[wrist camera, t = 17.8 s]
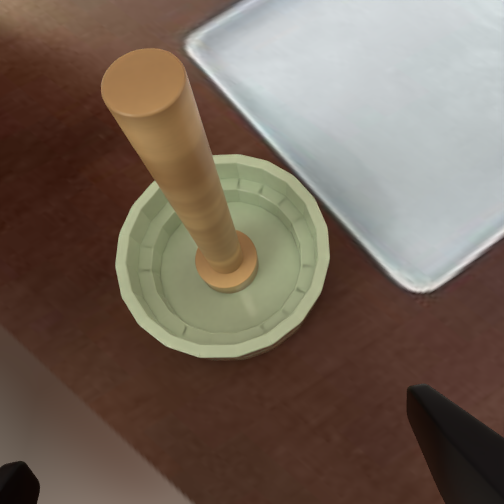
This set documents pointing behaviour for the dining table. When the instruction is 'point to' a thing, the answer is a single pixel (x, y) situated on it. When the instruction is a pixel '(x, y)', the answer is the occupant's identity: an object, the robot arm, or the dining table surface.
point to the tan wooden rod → (179, 160)
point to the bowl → (205, 298)
